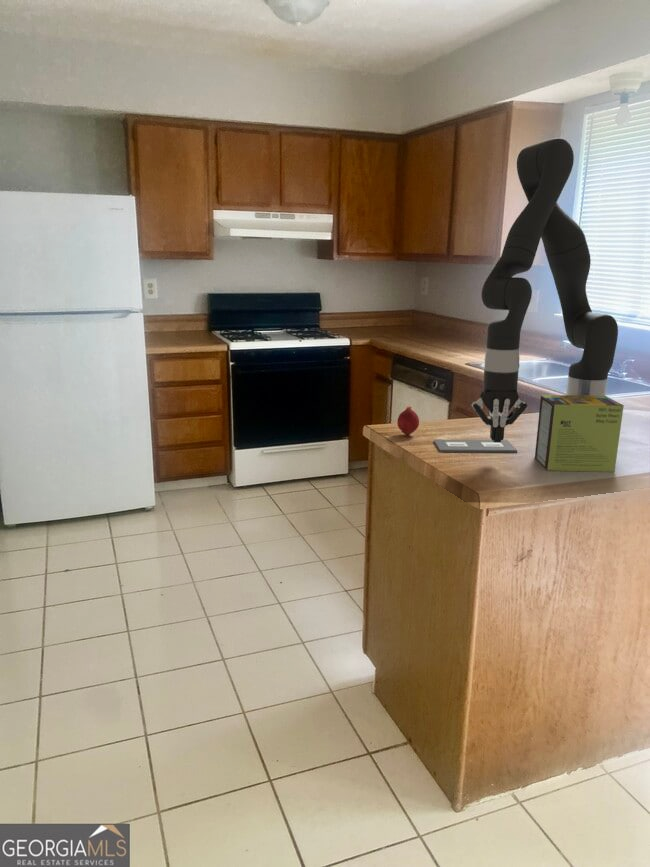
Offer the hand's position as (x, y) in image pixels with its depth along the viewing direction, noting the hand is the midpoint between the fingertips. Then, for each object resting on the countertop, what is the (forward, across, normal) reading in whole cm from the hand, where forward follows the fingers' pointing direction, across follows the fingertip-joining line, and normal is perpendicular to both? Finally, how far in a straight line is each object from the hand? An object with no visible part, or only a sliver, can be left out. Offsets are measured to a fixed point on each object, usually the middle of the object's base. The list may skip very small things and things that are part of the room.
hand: (496, 441), depth 149 cm
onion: (+5, +17, -22) cm, 29 cm away
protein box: (+6, -18, +2) cm, 19 cm away
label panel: (+5, +2, -12) cm, 13 cm away
